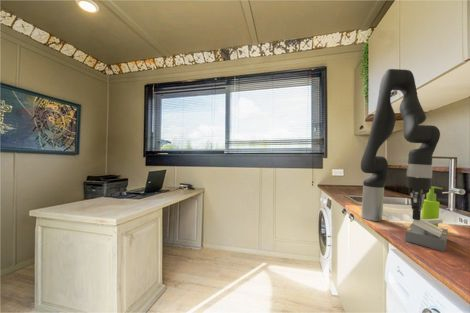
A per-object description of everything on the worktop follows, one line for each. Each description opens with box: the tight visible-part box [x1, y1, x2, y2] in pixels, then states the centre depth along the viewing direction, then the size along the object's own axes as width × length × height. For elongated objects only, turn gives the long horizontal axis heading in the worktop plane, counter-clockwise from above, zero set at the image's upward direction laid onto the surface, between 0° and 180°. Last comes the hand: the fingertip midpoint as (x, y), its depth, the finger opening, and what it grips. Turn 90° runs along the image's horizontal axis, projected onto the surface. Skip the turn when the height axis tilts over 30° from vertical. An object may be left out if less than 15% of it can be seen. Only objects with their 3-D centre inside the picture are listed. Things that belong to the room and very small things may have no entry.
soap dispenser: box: [420, 185, 444, 227], centre depth 98 cm, size 6×7×20 cm
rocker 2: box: [424, 217, 444, 224], centre depth 88 cm, size 3×8×1 cm, turn 42°
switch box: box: [404, 223, 449, 252], centre depth 84 cm, size 18×11×5 cm, turn 132°
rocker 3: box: [418, 217, 444, 232], centre depth 83 cm, size 3×8×1 cm, turn 42°
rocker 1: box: [411, 219, 442, 237], centre depth 79 cm, size 3×8×1 cm, turn 42°
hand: (416, 219), depth 82 cm, fingers closed
